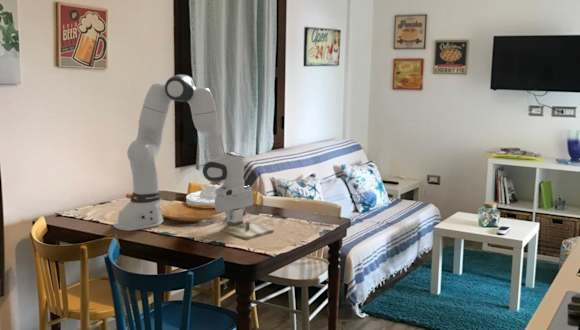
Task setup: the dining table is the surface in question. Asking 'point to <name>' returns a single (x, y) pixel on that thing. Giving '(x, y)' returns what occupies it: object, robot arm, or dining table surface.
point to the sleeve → (236, 217)
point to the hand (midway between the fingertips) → (234, 218)
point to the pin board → (247, 230)
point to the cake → (203, 196)
